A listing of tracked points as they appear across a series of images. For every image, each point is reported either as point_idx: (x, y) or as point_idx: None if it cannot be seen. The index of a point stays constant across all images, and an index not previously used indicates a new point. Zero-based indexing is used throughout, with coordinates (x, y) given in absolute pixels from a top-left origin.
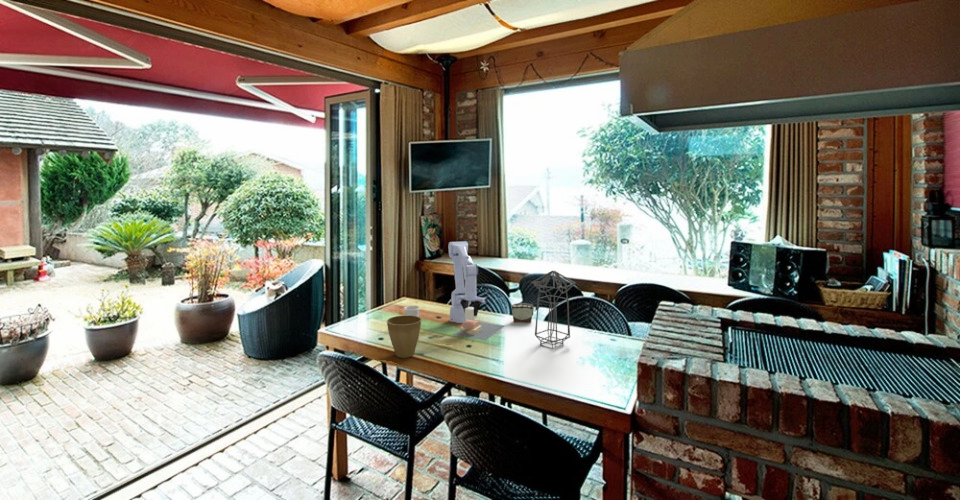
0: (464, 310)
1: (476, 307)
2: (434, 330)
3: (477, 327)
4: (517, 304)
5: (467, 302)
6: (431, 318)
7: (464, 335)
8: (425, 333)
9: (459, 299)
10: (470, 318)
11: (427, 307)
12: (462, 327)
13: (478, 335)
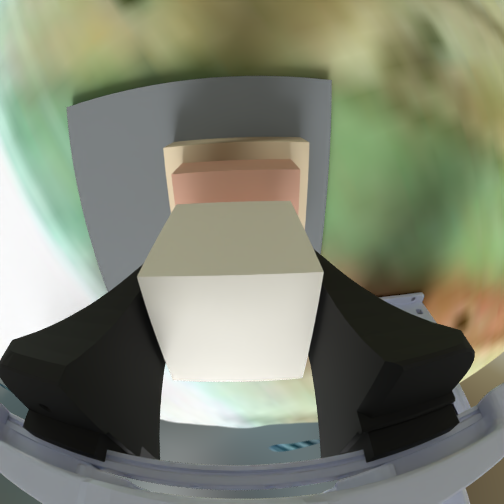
0: (330, 271)
1: (65, 320)
2: (461, 159)
3: None
4: None
5: (328, 423)
6: (482, 301)
7: (239, 97)
8: (477, 100)
9: (481, 405)
10: (211, 207)
11: (480, 363)
12: (298, 164)
13: (145, 150)
